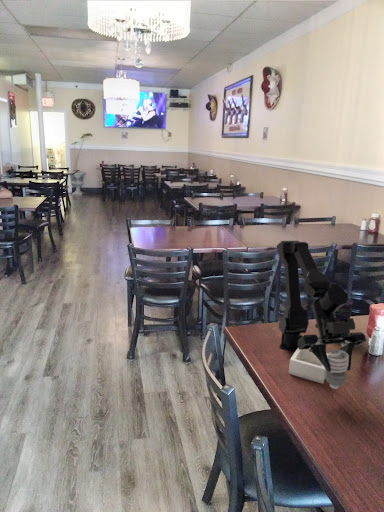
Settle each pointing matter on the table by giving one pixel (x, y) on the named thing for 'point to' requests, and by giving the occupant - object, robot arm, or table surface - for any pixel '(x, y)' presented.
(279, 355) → the table surface
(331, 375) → the light bulb
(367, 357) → the table surface
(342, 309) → the storage jar
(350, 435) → the table surface
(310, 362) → the white open box
